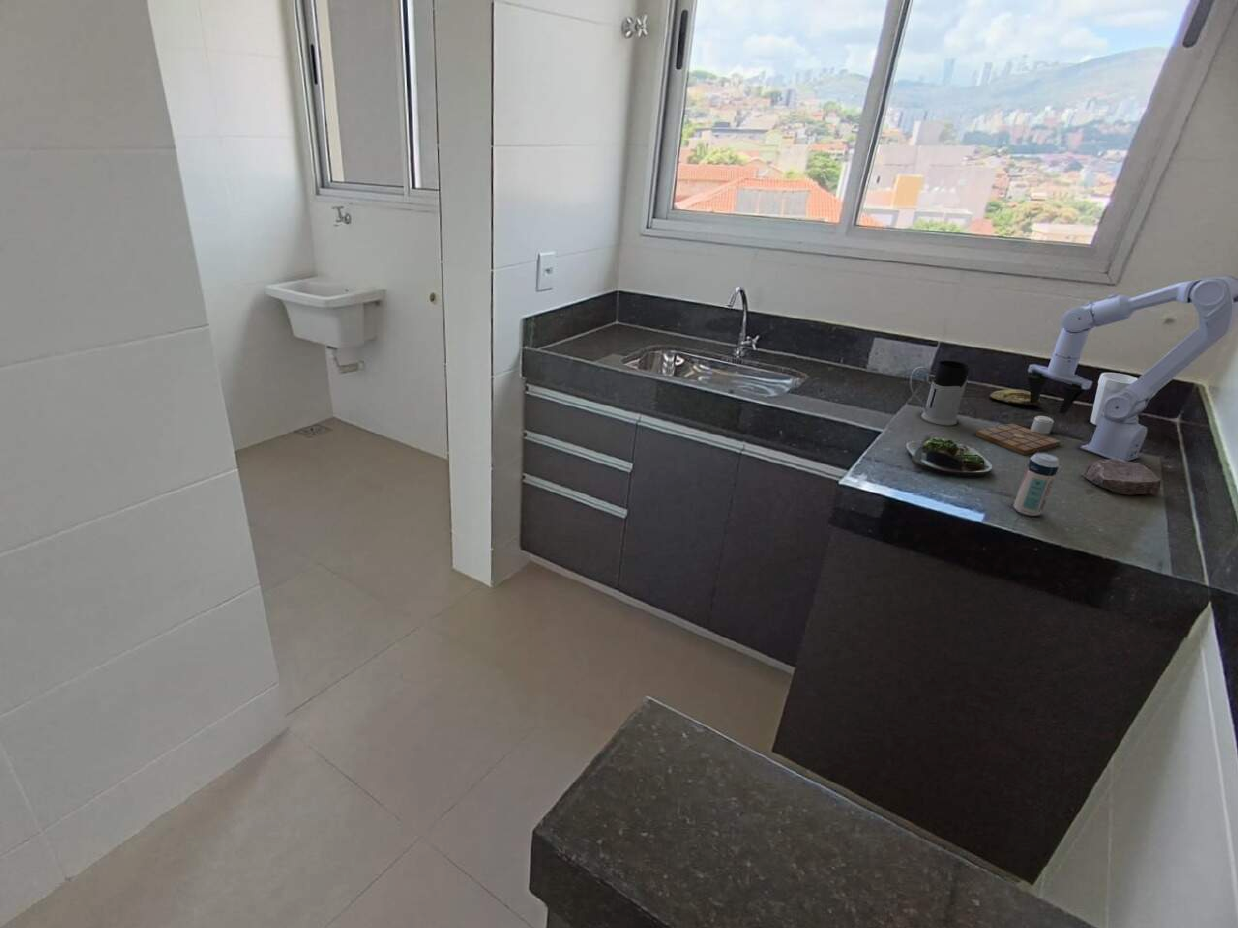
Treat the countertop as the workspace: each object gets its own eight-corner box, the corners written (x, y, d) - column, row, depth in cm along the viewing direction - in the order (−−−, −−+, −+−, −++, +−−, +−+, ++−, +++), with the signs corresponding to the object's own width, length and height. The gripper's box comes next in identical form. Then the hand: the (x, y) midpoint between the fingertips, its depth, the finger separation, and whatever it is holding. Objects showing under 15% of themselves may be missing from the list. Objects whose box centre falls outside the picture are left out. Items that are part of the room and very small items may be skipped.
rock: (1046, 405, 190) (1049, 393, 189) (1035, 408, 183) (1038, 395, 182) (997, 397, 199) (1000, 386, 198) (985, 400, 192) (988, 387, 191)
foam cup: (1132, 428, 176) (1151, 382, 171) (1111, 432, 173) (1130, 385, 167) (1096, 415, 184) (1113, 371, 178) (1076, 419, 180) (1093, 374, 175)
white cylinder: (1053, 432, 170) (1058, 420, 169) (1043, 435, 168) (1048, 422, 167) (1036, 426, 174) (1041, 414, 172) (1027, 429, 172) (1031, 416, 170)
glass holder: (961, 426, 171) (978, 371, 164) (905, 421, 172) (919, 366, 166) (950, 414, 179) (965, 361, 172) (896, 409, 180) (910, 356, 173)
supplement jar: (1030, 505, 132) (1050, 452, 127) (1045, 518, 128) (1066, 462, 123) (1007, 505, 132) (1027, 451, 127) (1021, 517, 128) (1042, 461, 123)
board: (1058, 445, 163) (1060, 440, 162) (1024, 455, 156) (1025, 450, 155) (1010, 427, 172) (1012, 422, 172) (975, 435, 166) (977, 430, 165)
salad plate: (889, 439, 160) (893, 422, 158) (963, 445, 160) (969, 427, 158) (916, 474, 143) (921, 455, 141) (1000, 481, 142) (1006, 461, 140)
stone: (1079, 474, 147) (1087, 455, 145) (1135, 480, 146) (1144, 462, 144) (1099, 492, 139) (1108, 473, 137) (1159, 500, 138) (1169, 480, 136)
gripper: (1106, 362, 159) (1085, 414, 164) (1046, 346, 170) (1029, 396, 176) (1090, 365, 155) (1070, 418, 161) (1030, 349, 167) (1013, 399, 173)
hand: (1047, 407), depth 168 cm, fingers open, 7 cm apart
